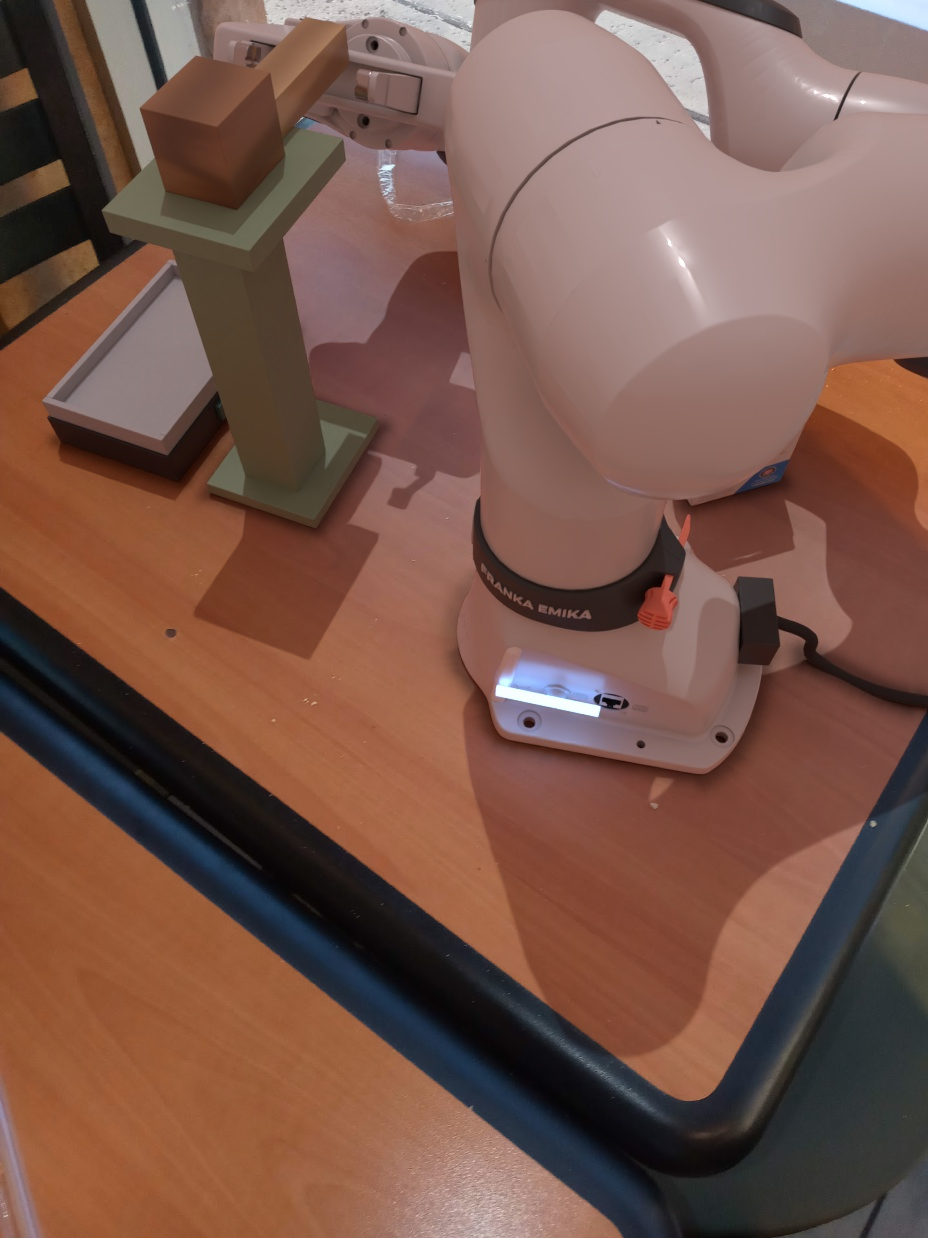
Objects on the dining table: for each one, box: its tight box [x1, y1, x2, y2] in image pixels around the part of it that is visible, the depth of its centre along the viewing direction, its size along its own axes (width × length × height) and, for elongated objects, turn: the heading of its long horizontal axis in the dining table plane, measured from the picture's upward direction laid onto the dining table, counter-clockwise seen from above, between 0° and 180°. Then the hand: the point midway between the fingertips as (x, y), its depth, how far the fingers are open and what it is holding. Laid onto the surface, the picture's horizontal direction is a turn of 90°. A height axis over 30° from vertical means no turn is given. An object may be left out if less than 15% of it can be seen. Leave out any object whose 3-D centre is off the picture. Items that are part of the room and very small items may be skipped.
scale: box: [41, 259, 227, 483], centre depth 80 cm, size 12×20×5 cm, turn 157°
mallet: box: [139, 16, 350, 210], centre depth 56 cm, size 5×17×5 cm, turn 157°
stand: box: [101, 126, 380, 530], centre depth 67 cm, size 10×12×26 cm
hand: (300, 71), depth 59 cm, fingers open, 8 cm apart
